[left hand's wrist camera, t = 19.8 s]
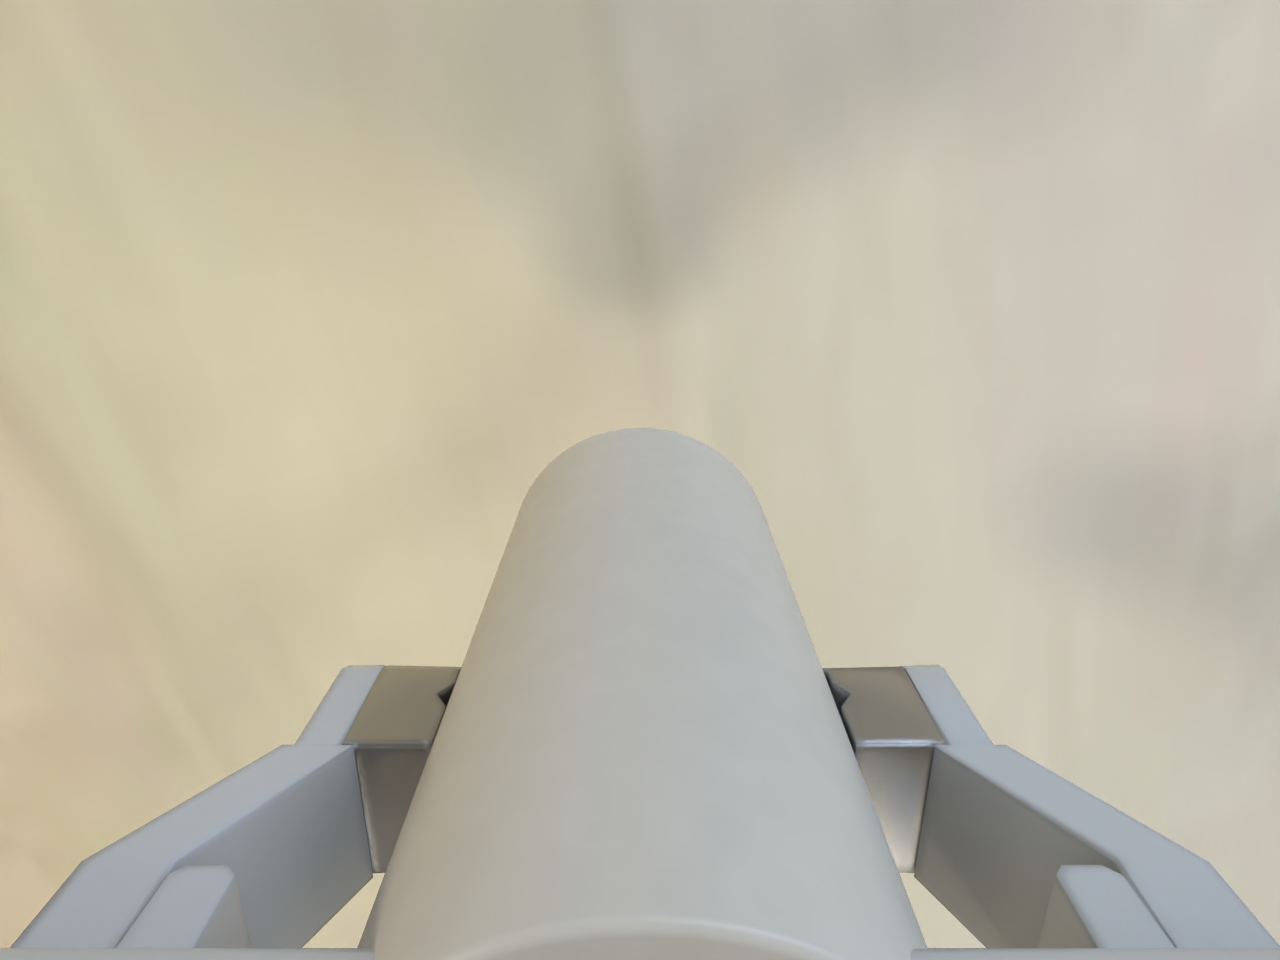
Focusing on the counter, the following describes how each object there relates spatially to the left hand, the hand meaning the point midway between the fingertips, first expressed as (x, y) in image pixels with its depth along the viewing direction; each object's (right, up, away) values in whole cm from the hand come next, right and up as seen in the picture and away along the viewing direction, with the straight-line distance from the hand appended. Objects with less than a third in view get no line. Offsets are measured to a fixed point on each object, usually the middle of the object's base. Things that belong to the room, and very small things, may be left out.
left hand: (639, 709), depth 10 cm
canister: (0, +2, +4) cm, 4 cm away
